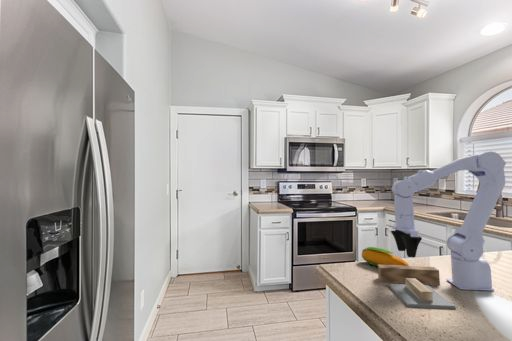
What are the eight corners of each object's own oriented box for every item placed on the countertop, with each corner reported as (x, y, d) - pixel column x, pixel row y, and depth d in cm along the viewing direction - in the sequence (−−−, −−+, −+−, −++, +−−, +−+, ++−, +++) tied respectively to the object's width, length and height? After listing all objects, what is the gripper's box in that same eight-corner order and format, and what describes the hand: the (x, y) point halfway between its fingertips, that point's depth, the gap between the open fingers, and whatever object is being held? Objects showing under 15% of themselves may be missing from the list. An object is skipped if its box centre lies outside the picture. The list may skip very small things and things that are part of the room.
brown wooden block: (434, 281, 86) (434, 267, 86) (439, 285, 83) (439, 270, 83) (378, 278, 90) (377, 264, 90) (381, 282, 87) (380, 267, 87)
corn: (368, 242, 112) (414, 252, 94) (369, 259, 111) (416, 272, 94) (356, 245, 108) (402, 257, 91) (358, 263, 108) (404, 278, 90)
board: (428, 287, 81) (427, 285, 81) (455, 309, 67) (455, 306, 67) (388, 286, 83) (388, 283, 83) (407, 306, 69) (407, 303, 69)
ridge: (416, 289, 80) (415, 278, 80) (433, 304, 70) (432, 291, 70) (405, 289, 80) (405, 278, 80) (421, 304, 70) (420, 291, 70)
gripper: (384, 212, 96) (386, 248, 95) (400, 217, 81) (402, 259, 80) (404, 212, 94) (406, 248, 94) (424, 217, 80) (426, 260, 79)
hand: (406, 253), depth 87 cm, fingers open, 7 cm apart
